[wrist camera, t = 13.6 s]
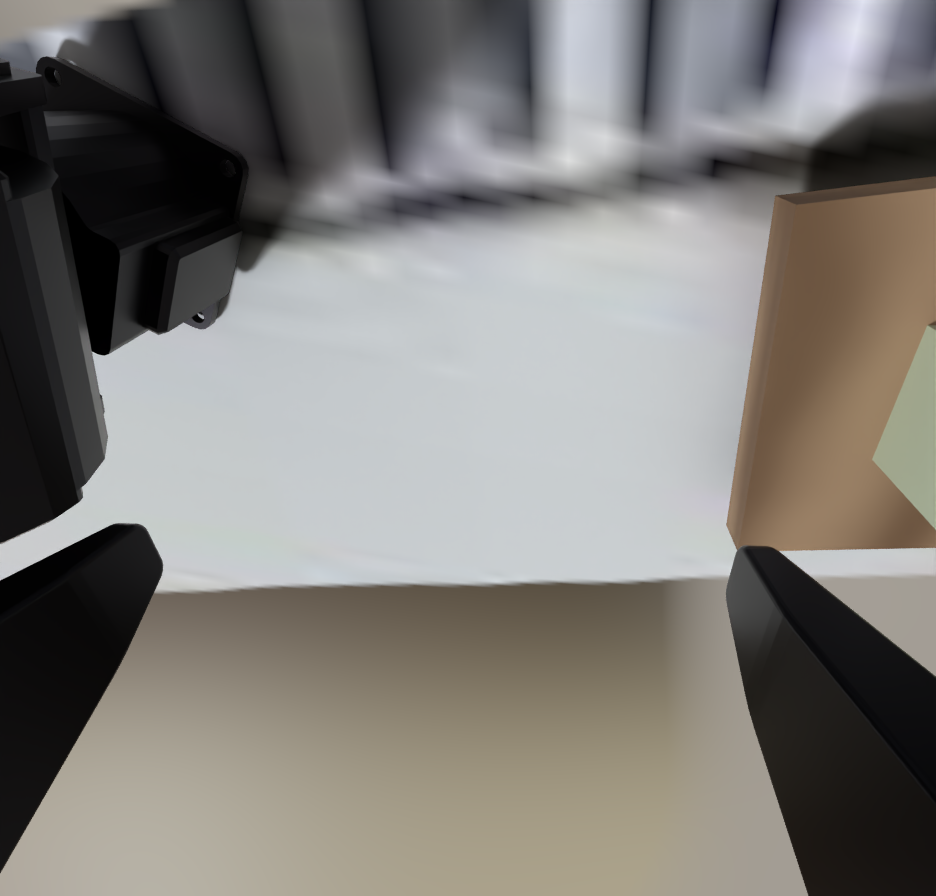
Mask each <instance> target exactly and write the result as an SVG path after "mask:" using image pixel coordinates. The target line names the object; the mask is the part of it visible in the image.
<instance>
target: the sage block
mask: <svg viewBox="0 0 936 896" xmlns="http://www.w3.org/2000/svg"><path fill="white" fill-rule="evenodd" d="M872 460H873V461H874V462H875V463H876V464H877V466H878V467H879V468H880V469H881V470H882V471H883V472H884V473H885V474H886V475H887V477H888V478H889V479H890V480H891V481H892V482H893V483H894V484H895V485H896V487H897V488H898V489H899V490H900V491H901V492H902V493H903V494H904V495H905V496H906V498H907V499H908V500H909V501H910V502H911V503H912V504H913V505H914V506H915V507H916V509H917V510H918V511H919V512H920V513H921V514H922V515H923V516H924V517H925V519H926V520H927V521H928V522H929V523H930V524H931V525H932V526H933V527H934V528H935V530H936V325H927V327H926V330H925V332H924V334H923V337H922V339H921V342H920V344H919V347H918V349H917V351H916V354H915V356H914V359H913V361H912V364H911V366H910V369H909V371H908V373H907V376H906V378H905V381H904V383H903V386H902V388H901V390H900V393H899V395H898V398H897V400H896V403H895V405H894V407H893V410H892V412H891V415H890V417H889V420H888V422H887V425H886V427H885V429H884V432H883V434H882V437H881V439H880V442H879V444H878V446H877V449H876V451H875V454H874V456H873V459H872Z"/></svg>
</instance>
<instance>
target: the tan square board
mask: <svg viewBox="0 0 936 896" xmlns="http://www.w3.org/2000/svg"><path fill="white" fill-rule="evenodd" d="M927 325H936V176H933V177H925V178H917V179H908V180H900V181H892V182H884V183H876V184H868V185H859V186H851V187H843V188H835V189H827V190H819V191H810V192H802V193H794V194H786V195H778V196H775V202H774V208H773V215H772V222H771V229H770V235H769V242H768V249H767V255H766V262H765V269H764V276H763V282H762V289H761V296H760V302H759V309H758V316H757V323H756V329H755V336H754V343H753V350H752V356H751V363H750V370H749V376H748V383H747V390H746V397H745V403H744V410H743V417H742V423H741V430H740V437H739V444H738V450H737V457H736V464H735V471H734V477H733V484H732V491H731V497H730V504H729V511H728V518H727V524H726V525H727V528H728V530H729V532H730V535H731V537H732V539H733V542H734V544H735V546H736V549H737V550H738V549H739V548H740V547H741V546H744V545H752V546H770V547H773V548H775V549H776V550H778V551H793V550H844V549H895V548H936V530H935V528H934V527H933V526H932V525H931V524H930V523H929V522H928V521H927V520H926V519H925V517H924V516H923V515H922V514H921V513H920V512H919V511H918V510H917V509H916V507H915V506H914V505H913V504H912V503H911V502H910V501H909V500H908V499H907V498H906V496H905V495H904V494H903V493H902V492H901V491H900V490H899V489H898V488H897V487H896V485H895V484H894V483H893V482H892V481H891V480H890V479H889V478H888V477H887V475H886V474H885V473H884V472H883V471H882V470H881V469H880V468H879V467H878V466H877V464H876V463H875V462H874V461H873V460H872V459H873V456H874V454H875V451H876V449H877V446H878V444H879V442H880V439H881V437H882V434H883V432H884V429H885V427H886V425H887V422H888V420H889V417H890V415H891V412H892V410H893V407H894V405H895V403H896V400H897V398H898V395H899V393H900V390H901V388H902V386H903V383H904V381H905V378H906V376H907V373H908V371H909V369H910V366H911V364H912V361H913V359H914V356H915V354H916V351H917V349H918V347H919V344H920V342H921V339H922V337H923V334H924V332H925V330H926V327H927Z"/></svg>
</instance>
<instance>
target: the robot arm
mask: <svg viewBox="0 0 936 896" xmlns="http://www.w3.org/2000/svg"><path fill="white" fill-rule="evenodd" d="M55 69H56V70H57V71H58V73H59V74H60V76H61V81H62V82H61V85H60V84H59V83H58V82H57V80H56V78H55V74H54V72H55ZM227 160H229V161H231V162H232V163H233V165H234V167H235V174H234V176H233V175H231V174H230V173H229V172H228V170H227V169H226V162H227ZM248 169H249V168H248V165H247V162H246V160H245V159H244V158H243V156H242V155H241V154H239V153H238V152H237V151H235V150H233V149H231V148H229V147H227V146H225V145H224V144H222V143H220V142H218V141H216V140H214V139H212V138H210V137H209V136H207V135H205V134H203V133H201V132H199V131H197V130H195V129H194V128H192V127H190V126H188V125H186V124H184V123H182V122H180V121H178V120H177V119H175V118H173V117H171V116H169V115H167V114H165V113H163V112H162V111H160V110H158V109H156V108H154V107H152V106H150V105H148V104H146V103H145V102H143V101H141V100H139V99H137V98H135V97H133V96H131V95H130V94H128V93H126V92H124V91H122V90H120V89H118V88H116V87H115V86H113V85H111V84H109V83H107V82H105V81H103V80H101V79H99V78H98V77H96V76H94V75H92V74H90V73H88V72H86V71H84V70H83V69H81V68H79V67H77V66H75V65H73V64H71V63H69V62H67V61H66V60H64V59H61V58H58V57H42V58H41V59H40V60H39V61H38V62H37V67H36V73H33V72H29V71H25V70H21V69H17V68H14V67H10V64H9V61H7V60H4V59H1V58H0V544H2V543H5V542H7V541H9V540H11V539H13V538H15V537H18V536H20V535H22V534H24V533H26V532H29V531H31V530H33V529H35V528H37V527H39V526H42V525H44V524H46V523H48V522H50V521H52V520H53V519H55V518H56V517H58V516H59V515H61V514H62V513H64V512H65V511H67V510H68V509H70V508H71V507H73V506H74V505H76V504H77V503H79V502H80V500H81V499H82V498H83V491H82V486H84V485H85V484H86V483H87V482H88V480H89V479H90V478H91V476H92V475H93V474H94V472H95V471H96V470H97V468H98V467H99V466H100V464H101V463H102V462H103V460H104V459H105V453H106V446H107V439H108V435H107V430H106V425H105V419H104V412H105V410H104V405H103V400H102V396H101V395H100V393H99V387H98V382H97V377H96V371H95V366H94V361H93V356H92V352H94V353H97V354H99V355H107V354H109V353H111V352H113V351H114V350H116V349H118V348H120V347H121V346H123V345H125V344H126V343H128V342H130V341H131V340H133V339H135V338H136V337H138V336H140V335H141V334H143V333H145V332H146V331H148V330H149V331H152V332H154V333H156V334H158V335H160V334H163V333H166V332H169V331H170V330H172V329H174V328H175V327H177V326H178V325H180V324H182V323H183V322H184V323H186V324H188V325H190V326H192V327H195V328H198V329H206V328H207V327H209V326H210V325H212V324H213V323H214V322H215V320H216V317H217V312H218V308H219V303H220V299H221V298H223V297H224V296H226V295H227V294H228V293H229V290H230V286H231V282H232V277H233V273H234V269H235V264H236V260H237V256H238V251H239V247H240V243H241V238H242V234H243V231H242V229H241V226H240V223H239V222H238V219H239V214H240V210H241V205H242V201H243V196H244V192H245V188H246V183H247V179H248ZM199 312H202V314H203V315H204V319H202V318H200V317H199V316H198V314H197V313H199ZM162 572H163V562H162V559H161V557H160V555H159V553H158V551H157V549H156V547H155V545H154V543H153V541H152V539H151V537H150V535H149V533H148V531H147V529H146V528H145V527H144V526H142V525H140V524H130V523H117V524H113V525H110V526H108V527H106V528H104V529H102V530H100V531H98V532H96V533H94V534H92V535H90V536H88V537H86V538H84V539H82V540H80V541H78V542H76V543H74V544H72V545H70V546H68V547H66V548H64V549H62V550H60V551H58V552H56V553H54V554H52V555H50V556H48V557H46V558H44V559H42V560H40V561H38V562H36V563H34V564H32V565H30V566H28V567H26V568H24V569H22V570H20V571H18V572H16V573H14V574H12V575H10V576H8V577H7V578H5V579H3V580H1V581H0V873H1V871H2V869H3V868H4V866H5V864H6V862H7V861H8V859H9V857H10V855H11V854H12V852H13V850H14V849H15V847H16V845H17V843H18V842H19V840H20V838H21V836H22V835H23V833H24V831H25V830H26V828H27V826H28V824H29V822H30V821H31V819H32V817H33V816H34V814H35V812H36V810H37V809H38V807H39V805H40V804H41V802H42V800H43V798H44V797H45V795H46V793H47V791H48V790H49V788H50V786H51V784H52V783H53V781H54V779H55V777H56V776H57V774H58V772H59V771H60V769H61V767H62V765H63V764H64V762H65V760H66V758H67V757H68V755H69V753H70V751H71V750H72V748H73V746H74V744H75V743H76V741H77V739H78V738H79V736H80V734H81V732H82V731H83V729H84V727H85V726H86V724H87V722H88V720H89V719H90V717H91V715H92V713H93V712H94V710H95V708H96V707H97V705H98V703H99V701H100V700H101V698H102V696H103V694H104V693H105V691H106V689H107V687H108V686H109V684H110V682H111V680H112V679H113V677H114V675H115V673H116V672H117V670H118V668H119V666H120V664H121V662H122V660H123V658H124V656H125V654H126V652H127V650H128V648H129V645H130V644H131V641H132V639H133V637H134V635H135V633H136V631H137V628H138V626H139V624H140V622H141V620H142V617H143V615H144V613H145V611H146V609H147V606H148V604H149V602H150V600H151V598H152V596H153V594H154V591H155V589H156V587H157V585H158V583H159V580H160V578H161V576H162ZM726 601H727V607H728V612H729V617H730V622H731V627H732V632H733V637H734V641H735V647H736V651H737V657H738V662H739V666H740V672H741V676H742V681H743V686H744V691H745V696H746V700H747V704H748V709H749V712H750V716H751V719H752V722H753V726H754V729H755V732H756V735H757V738H758V741H759V744H760V747H761V751H762V754H763V756H764V760H765V763H766V766H767V769H768V772H769V775H770V778H771V782H772V785H773V788H774V791H775V794H776V797H777V800H778V803H779V806H780V809H781V812H782V815H783V819H784V822H785V825H786V828H787V831H788V834H789V837H790V840H791V843H792V846H793V849H794V852H795V856H796V859H797V862H798V865H799V868H800V871H801V874H802V877H803V880H804V883H805V886H806V890H807V893H808V896H936V676H934V675H933V674H932V673H931V672H930V671H928V670H927V669H926V668H925V667H923V666H922V665H921V664H920V663H918V662H917V661H916V660H914V659H913V658H912V657H911V656H909V655H908V654H907V653H906V652H904V651H903V650H902V649H901V648H899V647H898V646H897V645H896V644H894V643H893V642H892V641H891V640H889V639H888V638H887V637H886V636H884V635H883V634H882V633H881V632H879V631H878V630H877V629H876V628H874V627H873V626H872V625H871V624H869V623H868V622H867V621H866V620H864V619H863V618H862V617H861V616H859V615H858V614H857V613H856V612H854V611H853V610H852V609H850V608H849V607H848V606H847V605H845V604H844V603H843V602H842V601H840V600H839V599H838V598H837V597H835V596H834V595H833V594H832V593H830V592H829V591H828V590H827V589H825V588H824V587H823V586H822V585H820V584H819V583H818V582H817V581H815V580H814V579H813V578H812V577H810V576H809V575H808V574H807V573H805V572H804V571H803V570H802V569H800V568H799V567H798V566H797V565H795V564H794V563H793V562H792V561H790V560H789V559H788V558H787V557H785V556H784V555H783V554H782V553H780V552H779V551H778V550H776V549H775V548H773V547H770V546H752V545H744V546H741V547H740V548H739V549H738V550H737V552H736V555H735V559H734V562H733V566H732V569H731V573H730V577H729V580H728V584H727V589H726Z"/></svg>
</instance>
